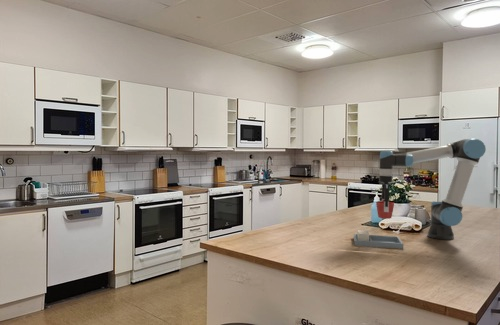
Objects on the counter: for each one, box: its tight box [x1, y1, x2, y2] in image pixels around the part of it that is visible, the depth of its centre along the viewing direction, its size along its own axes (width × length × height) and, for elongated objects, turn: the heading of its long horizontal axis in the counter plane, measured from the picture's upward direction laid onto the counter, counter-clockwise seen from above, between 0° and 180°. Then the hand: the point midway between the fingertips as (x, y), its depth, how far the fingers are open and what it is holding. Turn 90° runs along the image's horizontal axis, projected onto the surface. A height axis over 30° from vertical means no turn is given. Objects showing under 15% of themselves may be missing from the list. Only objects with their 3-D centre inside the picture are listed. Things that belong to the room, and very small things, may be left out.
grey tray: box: [353, 233, 404, 251], centre depth 216 cm, size 18×26×4 cm
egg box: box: [356, 229, 370, 241], centre depth 217 cm, size 10×6×6 cm, turn 166°
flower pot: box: [375, 200, 395, 220], centre depth 230 cm, size 11×11×10 cm
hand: (385, 210), depth 230 cm, fingers closed on flower pot, 11 cm apart
